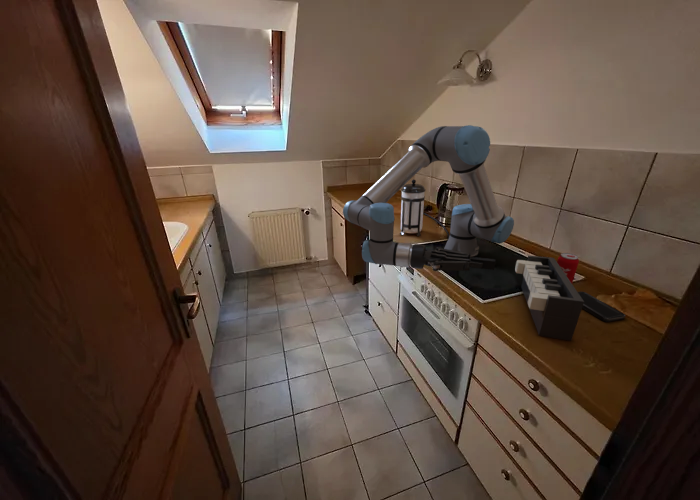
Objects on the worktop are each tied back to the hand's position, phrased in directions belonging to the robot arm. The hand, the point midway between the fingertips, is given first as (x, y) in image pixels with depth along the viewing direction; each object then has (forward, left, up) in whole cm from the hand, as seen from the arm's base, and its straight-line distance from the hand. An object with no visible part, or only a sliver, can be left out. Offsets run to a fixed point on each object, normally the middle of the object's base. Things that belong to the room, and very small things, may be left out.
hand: (494, 264), depth 85 cm
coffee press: (-82, +2, -20) cm, 84 cm away
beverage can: (-17, +40, -20) cm, 47 cm away
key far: (-15, +23, -12) cm, 30 cm away
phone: (-2, +39, -20) cm, 43 cm away
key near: (+6, +13, -12) cm, 19 cm away
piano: (-3, +22, -20) cm, 29 cm away
